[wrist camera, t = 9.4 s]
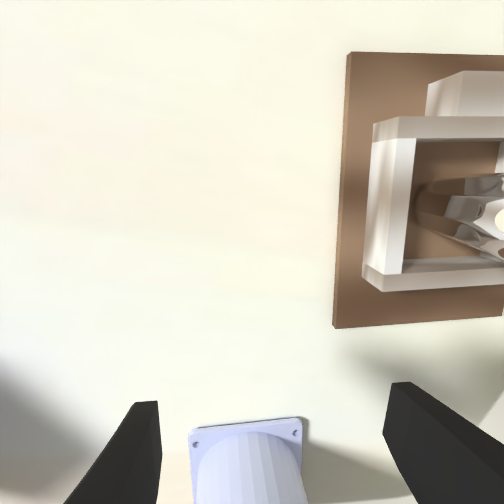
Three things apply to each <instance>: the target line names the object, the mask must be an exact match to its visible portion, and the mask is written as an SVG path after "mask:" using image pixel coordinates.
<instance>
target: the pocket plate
mask: <svg viewBox="0 0 504 504" xmlns="http://www.w3.org/2000/svg"><path fill="white" fill-rule="evenodd" d="M490 173H504V55H467V54H427V53H388V52H351V53H349V54H348V55H347V63H346V82H345V100H344V118H343V137H342V155H341V174H340V192H339V210H338V229H337V247H336V265H335V284H334V302H333V321H332V325H333V326H334V327H335V329H342V328H355V327H367V326H380V325H393V324H406V323H419V322H431V321H444V320H457V319H470V318H482V317H495V316H502V311H503V307H504V261H503V260H501V259H499V258H497V257H495V256H493V255H491V254H489V253H486V252H484V251H481V250H478V249H476V248H473V247H471V246H468V245H466V244H463V243H461V242H458V241H456V240H453V239H451V238H448V237H446V236H443V235H441V234H438V233H436V232H433V231H431V230H429V229H427V228H425V227H423V226H422V225H420V224H419V223H418V221H417V218H416V215H415V213H414V210H413V209H414V205H415V201H416V197H417V193H418V192H419V191H420V190H421V189H422V188H423V187H424V186H425V185H426V184H427V183H428V182H429V181H430V180H433V179H438V178H443V177H447V176H461V175H475V174H490Z"/></svg>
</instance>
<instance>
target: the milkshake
mask: <svg viewBox="0 0 504 504" xmlns="http://www.w3.org/2000/svg"><path fill="white" fill-rule="evenodd" d="M413 210H414V213H415V215H416V218H417V221H418V223H419V224H420V225H422V226H423V227H425V228H427V229H429V230H431V231H433V232H436V233H438V234H441V235H443V236H446V237H448V238H451V239H453V240H456V241H458V242H461V243H463V244H466V245H468V246H471V247H473V248H476V249H478V250H481V251H484V252H486V253H489V254H491V255H493V256H495V257H497V258H499V259H501V260H503V261H504V173H490V174H475V175H461V176H447V177H443V178H438V179H433V180H430V181H429V182H428V183H427V184H426V185H425V186H424V187H423V188H422V189H421V190H420V191H419V192H418V193H417V197H416V201H415V205H414V209H413Z"/></svg>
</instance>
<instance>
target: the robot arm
mask: <svg viewBox="0 0 504 504" xmlns="http://www.w3.org/2000/svg"><path fill="white" fill-rule="evenodd" d="M295 430H297V431H295ZM293 431H295V432H293ZM382 434H383V436H384V438H385V441H386V443H387V445H388V448H389V450H390V452H391V454H392V457H393V459H394V461H395V463H396V465H397V467H398V469H399V471H400V473H401V475H402V476H403V478H404V480H405V482H406V483H407V485H408V487H409V489H410V490H411V492H412V494H413V495H414V497H415V499H416V501H417V502H418V504H504V444H502V443H501V442H499V441H497V440H496V439H494V438H493V437H491V436H490V435H488V434H487V433H485V432H484V431H482V430H481V429H479V428H478V427H477V426H475V425H474V424H472V423H471V422H469V421H468V420H466V419H465V418H463V417H462V416H460V415H459V414H457V413H456V412H455V411H453V410H452V409H450V408H449V407H447V406H446V405H444V404H443V403H441V402H440V401H439V400H437V399H436V398H434V397H433V396H431V395H430V394H428V393H427V392H425V391H424V390H422V389H421V388H419V387H418V386H416V385H414V384H413V383H411V382H399V383H392V385H391V391H390V396H389V401H388V406H387V412H386V417H385V422H384V428H383V433H382ZM302 435H303V425H302V422H301V420H300V419H299V418H289V419H280V420H270V421H261V422H252V423H243V424H234V425H225V426H216V427H207V428H198V429H193V430H191V431H190V432H189V437H188V442H189V453H190V465H191V476H192V488H193V500H194V504H309V503H308V500H307V496H306V493H305V489H304V486H303V482H302V479H301V468H302ZM194 442H198V443H194ZM161 462H162V445H161V434H160V424H159V413H158V402H157V401H146V402H135V403H134V404H133V405H132V406H131V408H130V410H129V411H128V413H127V415H126V416H125V418H124V419H123V421H122V422H121V424H120V426H119V427H118V429H117V430H116V432H115V433H114V435H113V436H112V438H111V439H110V441H109V442H108V444H107V445H106V447H105V448H104V449H103V451H102V452H101V454H100V455H99V456H98V458H97V459H96V461H95V462H94V463H93V465H92V466H91V468H90V469H89V470H88V472H87V473H86V475H85V476H84V477H83V479H82V480H81V481H80V483H79V484H78V485H77V487H76V488H75V489H74V491H73V492H72V493H71V494H70V496H69V497H68V498H67V500H66V501H65V502H64V503H63V504H156V501H157V496H158V488H159V479H160V471H161Z"/></svg>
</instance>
